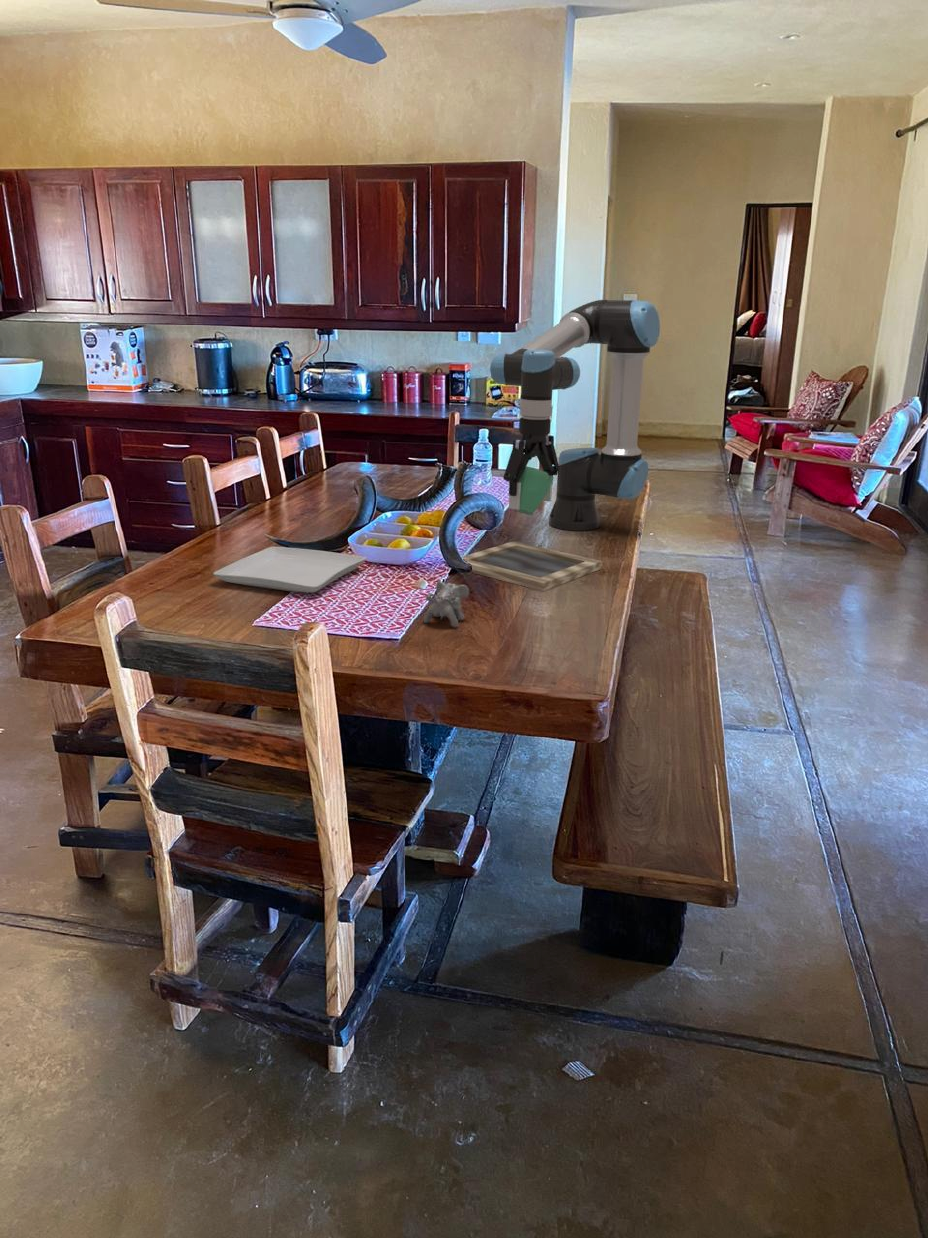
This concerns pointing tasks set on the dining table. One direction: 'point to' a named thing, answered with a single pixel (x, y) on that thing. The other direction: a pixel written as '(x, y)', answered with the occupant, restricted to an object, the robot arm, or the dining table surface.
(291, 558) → the square plate
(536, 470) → the green tapered cup
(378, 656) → the dining table surface
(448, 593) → the elephant statuette
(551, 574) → the framed board
